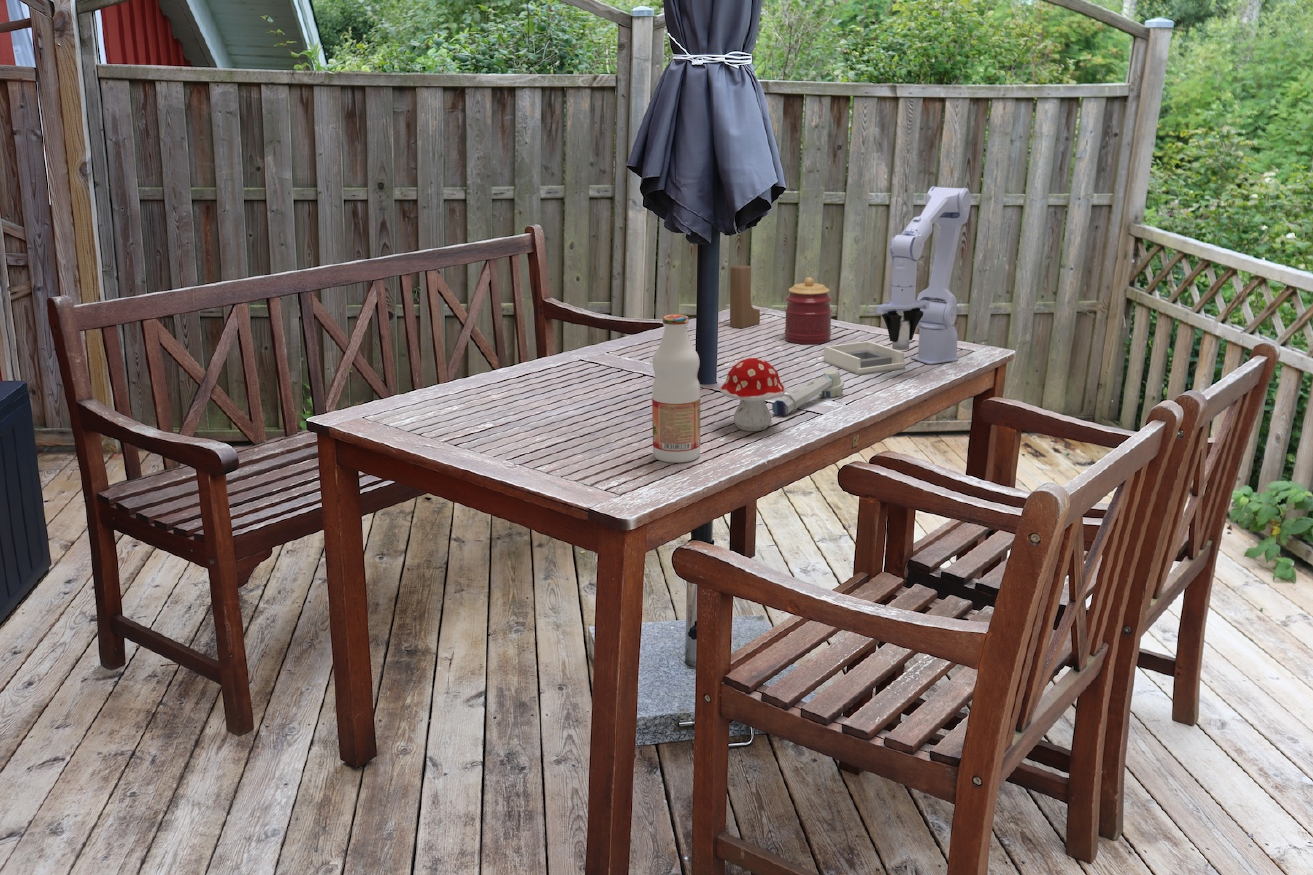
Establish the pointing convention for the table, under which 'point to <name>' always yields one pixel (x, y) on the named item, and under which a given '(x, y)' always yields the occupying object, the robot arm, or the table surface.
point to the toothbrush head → (810, 392)
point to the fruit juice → (676, 394)
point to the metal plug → (903, 335)
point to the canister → (808, 313)
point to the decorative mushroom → (752, 392)
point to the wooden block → (742, 298)
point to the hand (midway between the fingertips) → (901, 340)
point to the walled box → (864, 357)
